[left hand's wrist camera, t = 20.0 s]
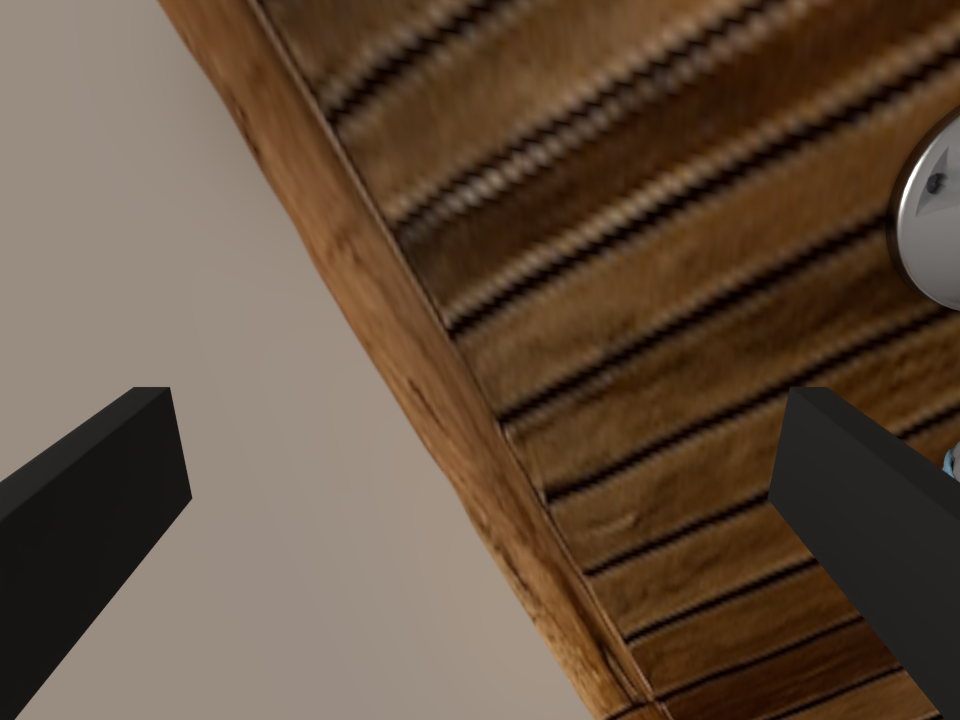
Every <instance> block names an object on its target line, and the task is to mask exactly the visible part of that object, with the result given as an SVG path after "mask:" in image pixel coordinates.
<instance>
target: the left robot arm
mask: <svg viewBox="0 0 960 720" xmlns="http://www.w3.org/2000/svg"><path fill="white" fill-rule="evenodd" d="M886 237H887V245H888V250H889V254H890V257H891V260H892V262H893V264H894V266H895V269H896V270H897V272H898V274H899V275H900V277H901V278H902V279H903V280H904V282H905V283H906V284H907V285H908V286H909V287H910V288H911V289H912V290H913V291H915V292H916V293H918V294H919V295H920V296H922V297H924V298H926V299H928V300H930V301H932V302H935V303H937V304H940V305H943V306H946V307H949V308H951V309H955V310H958V311H960V106H959V107H957V108H956V109H954V110H953V111H952V112H950V113H949V114H948V115H946V116H945V117H944V118H943V119H942V120H941V121H939V122H938V123H937V124H936V125H935V126H934V127H933V128H932V129H931V130H930V131H929V132H928V133H927V134H926V135H925V136H924V138H923V139H922V140H921V141H920V142H919V144H918V145H917V146H916V147H915V149H914V150H913V152H912V153H911V155H910V156H909V158H908V159H907V161H906V163H905V164H904V166H903V168H902V170H901V172H900V174H899V176H898V178H897V180H896V183H895V185H894V188H893V191H892V194H891V197H890V201H889V206H888V211H887V219H886ZM191 499H192V495H191V489H190V484H189V479H188V474H187V470H186V465H185V460H184V455H183V450H182V445H181V440H180V435H179V430H178V425H177V420H176V415H175V410H174V405H173V400H172V395H171V390H170V387H133V388H132V389H130V390H129V391H128V392H126V393H125V394H123V395H122V396H121V397H119V398H118V399H116V400H115V401H114V402H112V403H111V404H109V405H108V406H107V407H105V408H104V409H102V410H101V411H100V412H98V413H97V414H95V415H94V416H92V417H91V418H90V419H88V420H87V421H86V422H84V423H83V424H81V425H80V426H78V427H77V428H76V429H74V430H73V431H71V432H70V433H69V434H67V435H66V436H64V437H63V438H62V439H60V440H59V441H57V442H56V443H55V444H53V445H52V446H50V447H49V448H48V449H46V450H45V451H43V452H42V453H41V454H39V455H38V456H36V457H35V458H34V459H32V460H31V461H29V462H28V463H27V464H25V465H24V466H22V467H21V468H20V469H18V470H17V471H15V472H14V473H13V474H11V475H10V476H8V477H7V478H6V479H4V480H3V481H1V482H0V720H15V718H16V717H17V716H18V715H19V713H20V712H21V711H22V710H23V708H24V707H25V706H26V705H27V703H28V702H29V701H30V700H31V698H32V697H33V696H34V695H35V694H36V692H37V691H38V690H39V688H40V687H41V686H42V685H43V684H44V682H45V681H46V680H47V679H48V677H49V676H50V675H51V674H52V672H53V671H54V670H55V669H56V667H57V666H58V665H59V664H60V662H61V661H62V660H63V659H64V657H65V656H66V655H67V654H68V652H69V651H70V650H71V649H72V647H73V646H74V645H75V644H76V642H77V641H78V640H79V639H80V637H81V636H82V635H83V634H84V633H85V631H86V630H87V629H88V628H89V626H90V625H91V624H92V622H93V621H94V620H95V619H96V618H97V616H98V615H99V614H100V613H101V611H102V610H103V609H104V608H105V606H106V605H107V604H108V603H109V601H110V600H111V599H112V598H113V596H114V595H115V594H116V593H117V591H118V590H119V589H120V588H121V586H122V585H123V584H124V583H125V582H126V580H127V579H128V578H129V577H130V575H131V574H132V573H133V572H134V570H135V569H136V568H137V567H138V565H139V564H140V563H141V562H142V560H143V559H144V558H145V557H146V555H147V554H148V553H149V552H150V550H151V549H152V548H153V547H154V545H155V544H156V543H157V542H158V540H159V539H160V538H161V537H162V535H163V534H164V533H165V532H166V530H167V529H168V528H169V527H170V525H171V524H172V523H173V522H174V521H175V519H176V518H177V517H178V515H179V514H180V513H181V512H182V511H183V509H184V508H185V507H186V506H187V504H188V503H189V502H190V501H191ZM768 499H769V501H770V502H771V503H772V504H773V506H774V507H775V508H776V509H777V511H778V512H779V513H780V514H781V516H782V517H783V518H784V519H785V521H786V522H787V523H788V524H789V526H790V527H791V528H792V529H793V530H794V532H795V533H796V534H797V535H798V537H799V538H800V539H801V540H802V542H803V543H804V544H805V545H806V547H807V548H808V549H809V550H810V552H811V553H812V554H813V555H814V557H815V558H816V559H817V560H818V562H819V563H820V564H821V565H822V567H823V568H824V569H825V570H826V572H827V573H828V574H829V575H830V577H831V578H832V579H833V580H834V582H835V583H836V584H837V585H838V586H839V588H840V589H841V590H842V591H843V593H844V594H845V595H846V596H847V598H848V599H849V600H850V601H851V603H852V604H853V605H854V606H855V608H856V609H857V610H858V611H859V613H860V614H861V615H862V616H863V618H864V619H865V620H866V621H867V623H868V624H869V625H870V626H871V628H872V629H873V630H874V631H875V633H876V634H877V635H878V636H879V638H880V639H881V640H882V641H883V643H884V644H885V645H886V646H887V647H888V649H889V650H890V651H891V652H892V654H893V655H894V656H895V657H896V659H897V660H898V661H899V662H900V664H901V665H902V666H903V667H904V669H905V670H906V671H907V672H908V674H909V675H910V676H911V677H912V679H913V680H914V681H915V682H916V684H917V685H918V686H919V687H920V689H921V690H922V691H923V692H924V694H925V695H926V696H927V697H928V699H929V700H930V701H931V702H932V703H933V705H934V706H935V707H936V708H937V710H938V711H939V712H940V713H941V715H942V716H943V717H944V718H945V720H960V441H959V443H958V444H957V445H956V446H954V447H953V448H951V449H950V450H949V451H948V452H947V454H946V456H945V460H944V467H943V469H940V468H939V467H938V466H936V465H935V464H933V463H932V462H931V461H929V460H928V459H926V458H925V457H924V456H922V455H921V454H919V453H918V452H917V451H915V450H914V449H912V448H911V447H910V446H908V445H907V444H905V443H904V442H903V441H901V440H900V439H898V438H897V437H896V436H894V435H893V434H891V433H890V432H889V431H887V430H886V429H884V428H883V427H882V426H880V425H879V424H877V423H876V422H875V421H873V420H872V419H870V418H869V417H868V416H866V415H865V414H863V413H862V412H860V411H859V410H858V409H856V408H855V407H853V406H852V405H851V404H849V403H848V402H846V401H845V400H844V399H842V398H841V397H839V396H838V395H837V394H835V393H834V392H832V391H831V390H830V389H828V388H827V387H790V390H789V395H788V400H787V405H786V410H785V415H784V420H783V425H782V430H781V435H780V440H779V445H778V450H777V455H776V460H775V465H774V469H773V474H772V479H771V484H770V489H769V494H768Z"/></svg>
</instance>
